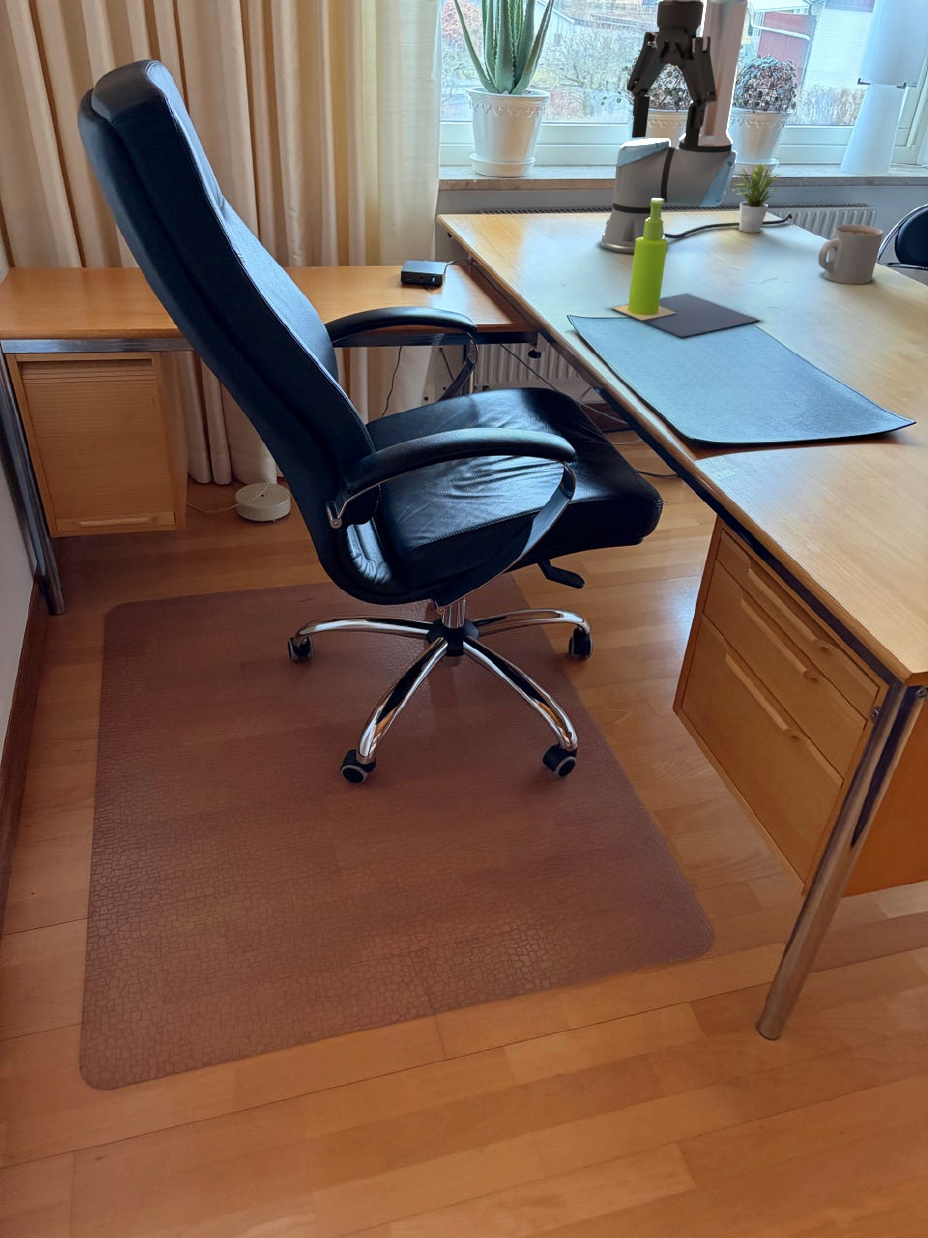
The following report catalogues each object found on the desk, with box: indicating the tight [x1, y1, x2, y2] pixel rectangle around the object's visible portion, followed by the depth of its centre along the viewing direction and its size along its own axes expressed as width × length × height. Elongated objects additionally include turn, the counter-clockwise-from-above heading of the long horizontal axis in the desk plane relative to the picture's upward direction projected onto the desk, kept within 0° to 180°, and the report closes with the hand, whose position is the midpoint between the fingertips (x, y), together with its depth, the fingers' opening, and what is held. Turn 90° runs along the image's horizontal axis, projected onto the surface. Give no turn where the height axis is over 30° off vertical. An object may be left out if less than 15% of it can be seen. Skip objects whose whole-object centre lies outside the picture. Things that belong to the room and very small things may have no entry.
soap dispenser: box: [627, 198, 668, 315], centre depth 174 cm, size 6×7×20 cm
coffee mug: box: [817, 224, 884, 285], centre depth 199 cm, size 13×10×10 cm
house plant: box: [733, 162, 782, 234], centre depth 235 cm, size 14×14×16 cm
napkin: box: [611, 293, 760, 339], centre depth 178 cm, size 20×20×1 cm
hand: (663, 142), depth 164 cm, fingers open, 13 cm apart
